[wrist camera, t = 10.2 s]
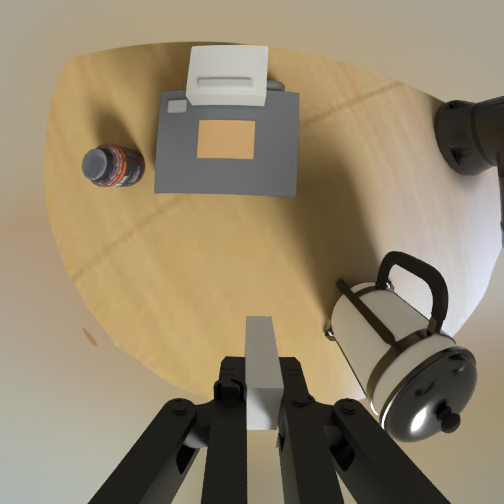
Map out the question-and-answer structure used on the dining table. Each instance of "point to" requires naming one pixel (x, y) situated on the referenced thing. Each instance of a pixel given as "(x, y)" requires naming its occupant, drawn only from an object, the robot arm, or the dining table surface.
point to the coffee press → (404, 353)
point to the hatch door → (227, 75)
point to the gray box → (228, 146)
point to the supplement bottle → (113, 166)
